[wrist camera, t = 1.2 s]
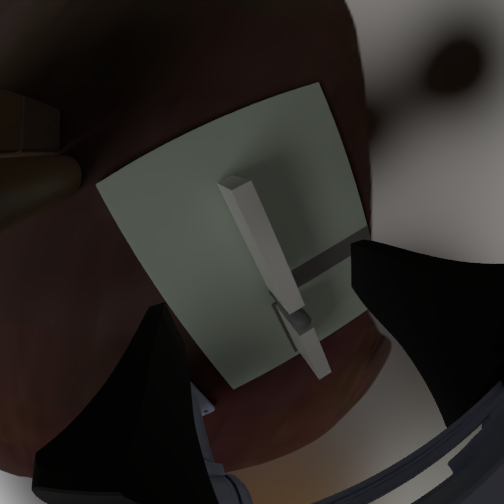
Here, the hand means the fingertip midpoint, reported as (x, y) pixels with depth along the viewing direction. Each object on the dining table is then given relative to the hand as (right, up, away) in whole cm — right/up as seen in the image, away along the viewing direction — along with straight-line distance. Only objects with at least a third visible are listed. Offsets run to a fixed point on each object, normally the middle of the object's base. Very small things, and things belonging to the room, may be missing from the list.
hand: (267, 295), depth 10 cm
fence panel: (-1, +3, +11) cm, 11 cm away
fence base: (+3, -4, +15) cm, 15 cm away
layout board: (+1, +2, +13) cm, 13 cm away
